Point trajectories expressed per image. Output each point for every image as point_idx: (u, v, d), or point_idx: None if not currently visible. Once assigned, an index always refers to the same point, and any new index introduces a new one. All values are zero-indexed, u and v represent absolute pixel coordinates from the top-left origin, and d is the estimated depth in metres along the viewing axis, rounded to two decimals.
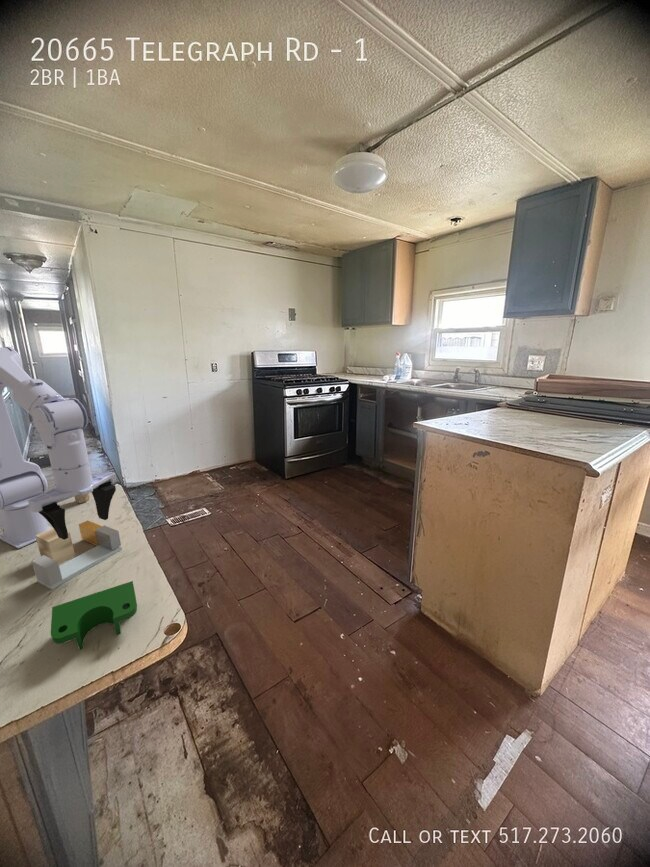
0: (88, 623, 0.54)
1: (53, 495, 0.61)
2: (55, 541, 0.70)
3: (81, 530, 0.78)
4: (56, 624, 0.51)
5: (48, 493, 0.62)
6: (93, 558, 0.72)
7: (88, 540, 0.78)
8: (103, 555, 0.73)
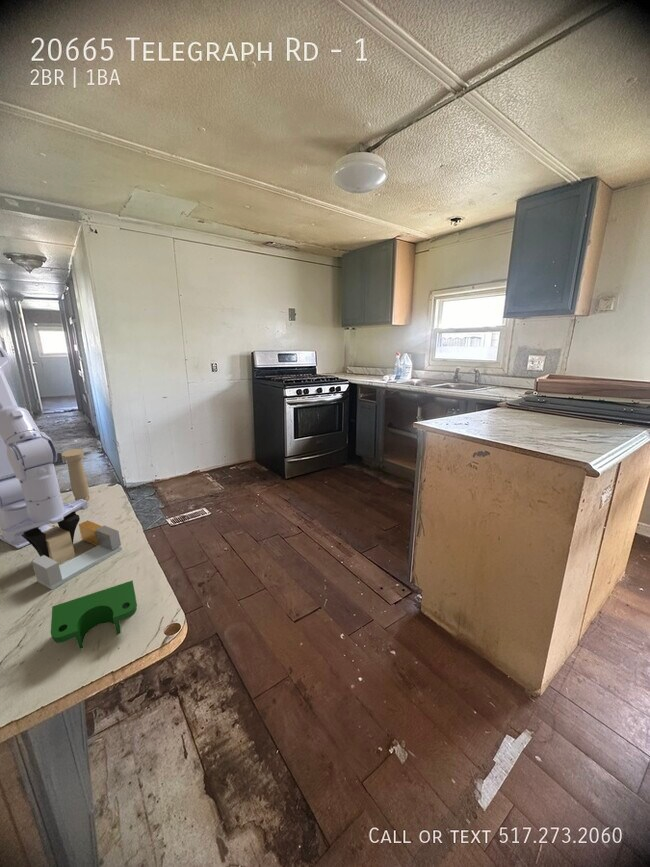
0: (88, 622, 0.54)
1: (26, 524, 0.67)
2: (55, 541, 0.70)
3: (81, 530, 0.78)
4: (56, 623, 0.51)
5: (21, 522, 0.68)
6: (93, 558, 0.72)
7: (88, 540, 0.78)
8: (103, 555, 0.73)
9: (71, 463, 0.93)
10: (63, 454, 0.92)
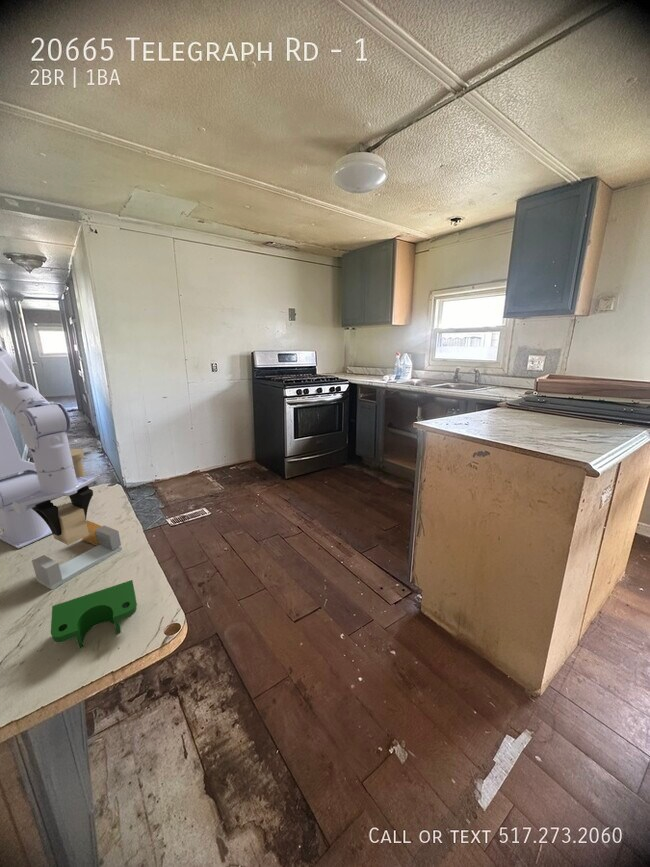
0: (87, 622, 0.54)
1: (37, 497, 0.63)
2: (68, 518, 0.67)
3: None
4: (56, 623, 0.51)
5: (33, 495, 0.64)
6: (93, 558, 0.72)
7: (88, 540, 0.78)
8: (103, 555, 0.73)
9: None
10: None
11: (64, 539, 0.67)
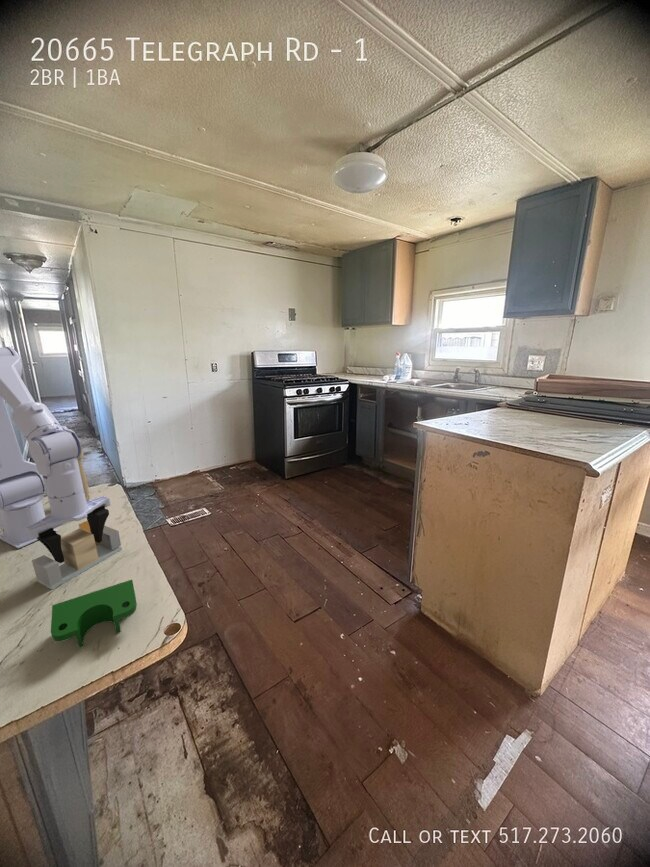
0: (87, 621, 0.55)
1: (49, 522, 0.64)
2: (79, 544, 0.68)
3: None
4: (56, 622, 0.51)
5: (44, 520, 0.65)
6: None
7: None
8: (103, 555, 0.73)
9: None
10: None
11: (75, 564, 0.69)
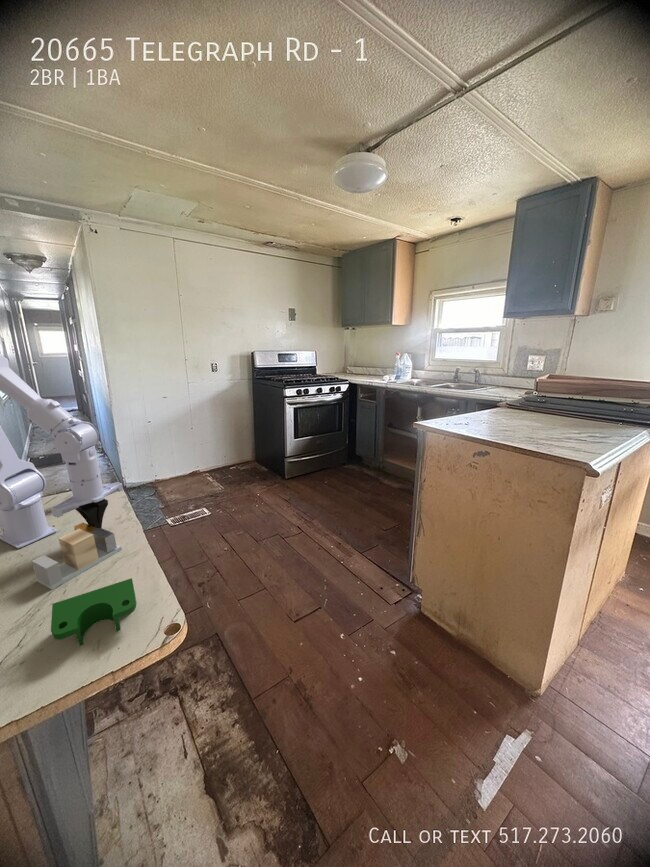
0: (87, 619, 0.55)
1: (71, 503, 0.74)
2: (79, 544, 0.68)
3: None
4: (56, 620, 0.52)
5: (66, 501, 0.74)
6: None
7: None
8: (103, 555, 0.73)
9: None
10: None
11: (75, 564, 0.69)
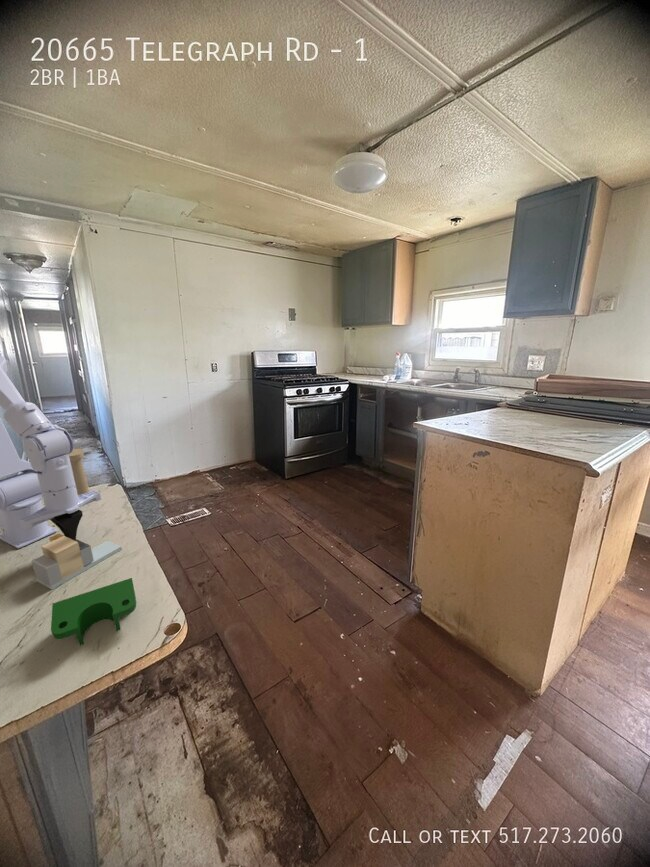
0: (87, 619, 0.55)
1: (42, 514, 0.69)
2: (62, 552, 0.65)
3: None
4: (56, 620, 0.52)
5: (38, 512, 0.70)
6: (93, 558, 0.72)
7: None
8: (103, 555, 0.73)
9: (71, 463, 0.93)
10: None
11: None
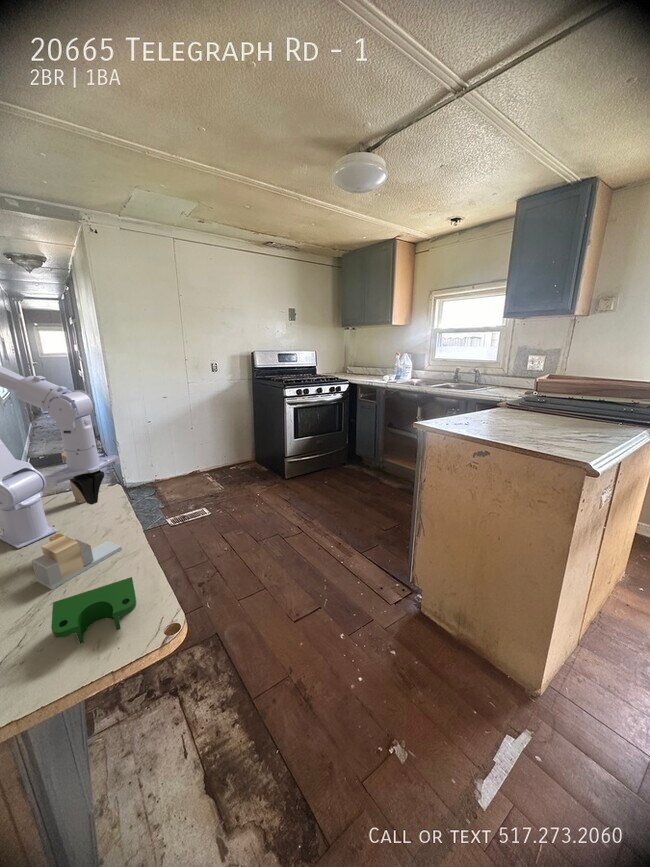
0: (88, 618, 0.55)
1: (66, 473, 0.72)
2: (62, 552, 0.65)
3: None
4: (57, 619, 0.52)
5: (61, 471, 0.73)
6: (93, 558, 0.72)
7: None
8: (103, 555, 0.73)
9: None
10: (63, 454, 0.92)
11: None
